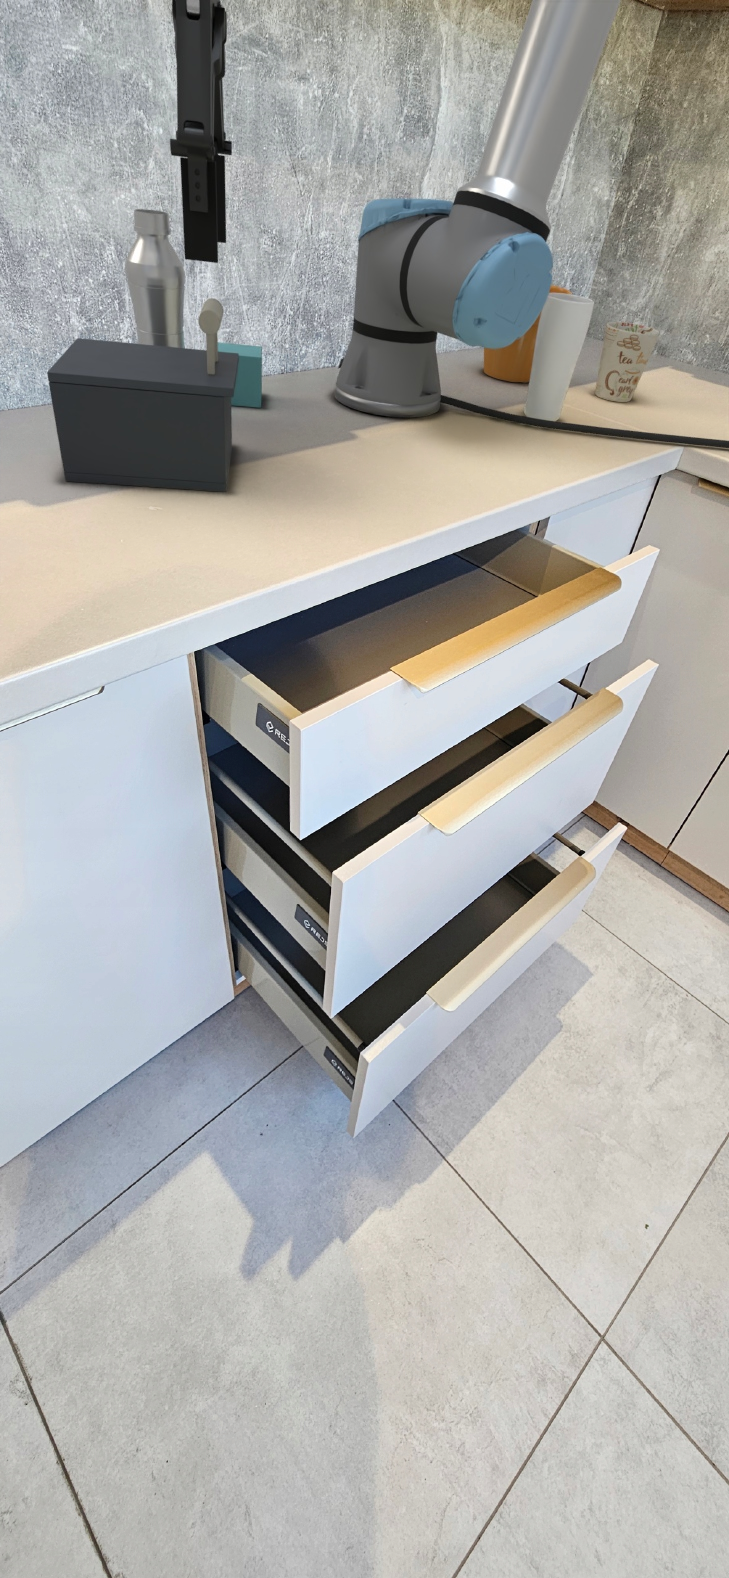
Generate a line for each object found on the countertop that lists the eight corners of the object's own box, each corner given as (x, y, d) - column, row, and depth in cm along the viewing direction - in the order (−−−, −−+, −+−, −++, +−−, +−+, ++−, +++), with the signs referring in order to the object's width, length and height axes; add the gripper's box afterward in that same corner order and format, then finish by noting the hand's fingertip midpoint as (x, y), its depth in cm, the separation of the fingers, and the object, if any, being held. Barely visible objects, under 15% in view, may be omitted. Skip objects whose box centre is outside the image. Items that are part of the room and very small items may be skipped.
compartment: (232, 447, 85) (230, 361, 79) (226, 492, 75) (223, 397, 69) (90, 436, 83) (78, 347, 77) (65, 481, 73) (48, 382, 67)
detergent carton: (261, 395, 102) (262, 346, 98) (261, 408, 98) (261, 357, 94) (217, 391, 101) (216, 342, 97) (215, 404, 97) (213, 352, 93)
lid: (238, 361, 79) (238, 293, 75) (233, 397, 69) (232, 321, 65) (78, 346, 77) (68, 275, 73) (48, 381, 67) (34, 301, 63)
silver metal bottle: (182, 423, 89) (169, 218, 76) (129, 414, 90) (108, 209, 77) (201, 410, 94) (192, 214, 81) (151, 401, 95) (134, 205, 81)
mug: (584, 397, 120) (603, 326, 113) (595, 382, 129) (613, 316, 122) (634, 407, 118) (657, 336, 112) (642, 391, 127) (664, 325, 121)
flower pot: (551, 374, 130) (572, 287, 122) (548, 392, 120) (571, 299, 111) (473, 360, 132) (489, 273, 123) (463, 378, 121) (480, 284, 113)
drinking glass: (514, 418, 106) (541, 296, 96) (522, 407, 111) (549, 290, 101) (559, 428, 105) (592, 305, 95) (566, 417, 110) (598, 299, 100)
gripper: (162, -86, 61) (178, 230, 75) (114, -174, 43) (147, 265, 57) (253, -70, 62) (252, 239, 76) (243, -149, 44) (244, 276, 58)
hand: (207, 250), depth 67 cm, fingers open, 13 cm apart
